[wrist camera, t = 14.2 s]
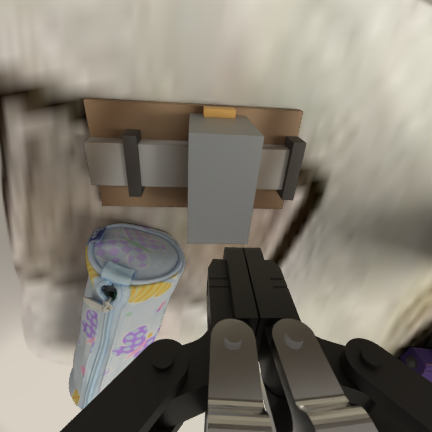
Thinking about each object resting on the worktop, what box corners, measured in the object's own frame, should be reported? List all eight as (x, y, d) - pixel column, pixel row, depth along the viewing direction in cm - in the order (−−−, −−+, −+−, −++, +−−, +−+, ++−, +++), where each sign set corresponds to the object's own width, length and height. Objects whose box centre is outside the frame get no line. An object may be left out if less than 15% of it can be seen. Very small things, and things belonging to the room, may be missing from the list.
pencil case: (103, 205, 26) (62, 274, 17) (190, 225, 28) (189, 296, 19) (84, 337, 35) (52, 420, 27) (149, 345, 37) (137, 425, 29)
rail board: (298, 109, 22) (312, 116, 20) (279, 204, 27) (288, 219, 24) (88, 98, 21) (73, 103, 18) (105, 200, 25) (95, 217, 23)
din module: (247, 108, 21) (265, 125, 16) (235, 204, 25) (247, 243, 20) (189, 104, 20) (188, 121, 15) (188, 203, 25) (187, 243, 19)
